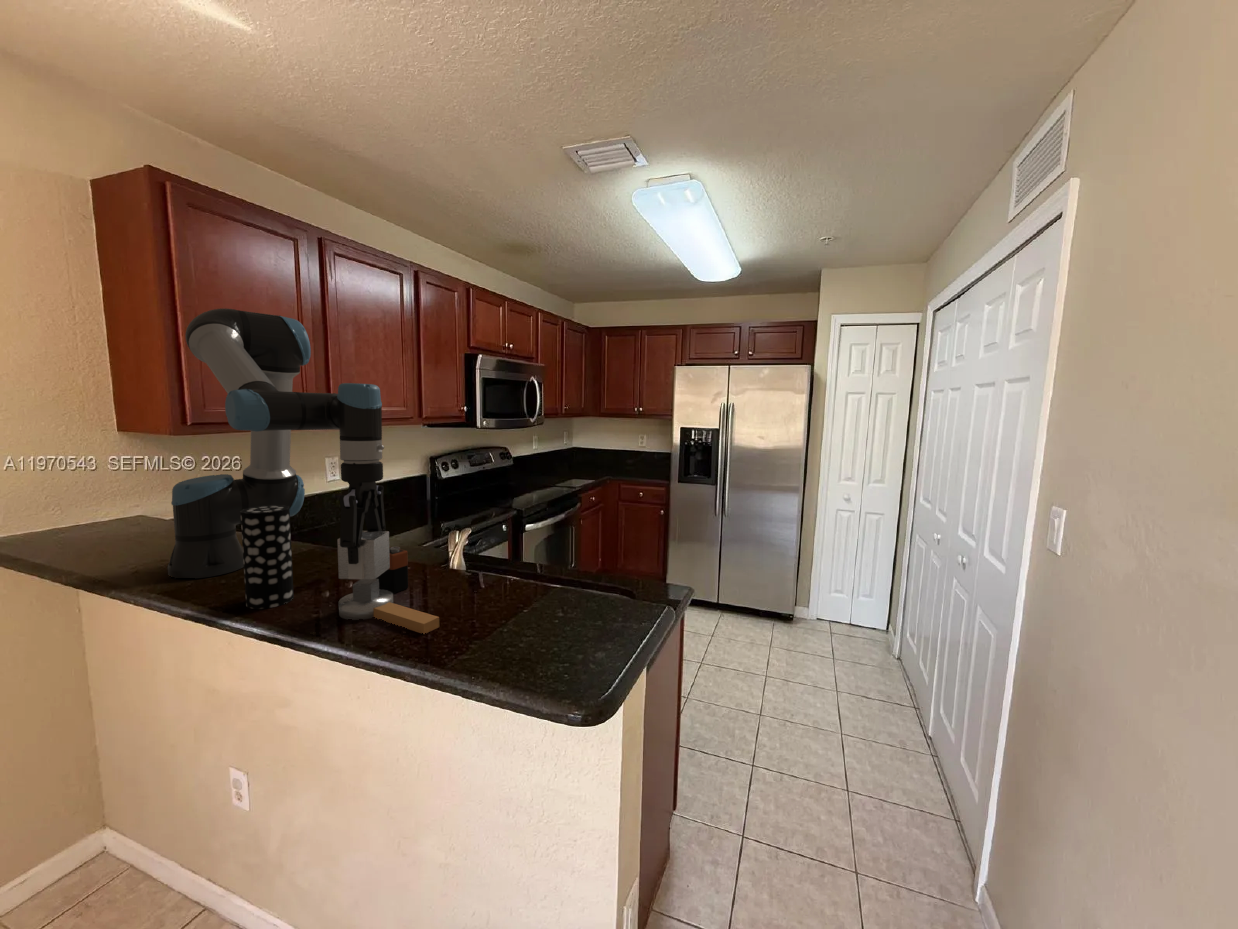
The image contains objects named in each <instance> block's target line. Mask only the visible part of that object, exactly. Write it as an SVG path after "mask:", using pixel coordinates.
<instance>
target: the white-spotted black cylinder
mask: <svg viewBox="0 0 1238 929" xmlns="http://www.w3.org/2000/svg"><path fill="white" fill-rule="evenodd" d="M240 513H241V524H240V526H241V543H242V545H241V547H242V549H243V562H244V567H243V577H244V579H243V580H244V593H245V595H244V596H245V606H246V607H247V608H249V609H252V610H253V609H254V610H263V609H271V608H277V607H279V606H282V605H286V604H288V603H290V602H292V601H293V600H294V599H295V597H294V596H295V594H294V576H293V575H294V574H293V556H292V555H293V554H292V552H293V551H292V534H291V532H292V531H291V517H290V509H289V507H288V506H281V505H271V506H259V507H252V508H247V509H243V510H241V511H240ZM292 599H293V600H292ZM285 603H286V604H285Z"/></svg>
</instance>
